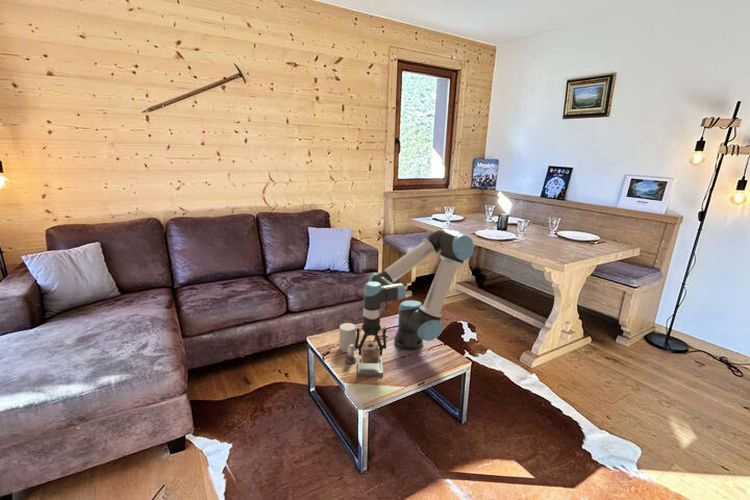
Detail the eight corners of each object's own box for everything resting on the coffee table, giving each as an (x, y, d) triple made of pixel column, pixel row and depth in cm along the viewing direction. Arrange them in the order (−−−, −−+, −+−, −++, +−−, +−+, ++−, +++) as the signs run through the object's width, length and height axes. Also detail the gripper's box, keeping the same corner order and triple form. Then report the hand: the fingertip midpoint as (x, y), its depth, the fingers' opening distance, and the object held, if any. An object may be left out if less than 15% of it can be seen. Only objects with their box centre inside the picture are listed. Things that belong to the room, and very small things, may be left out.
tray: (381, 362, 182) (381, 358, 181) (382, 376, 171) (383, 372, 170) (358, 361, 181) (358, 358, 181) (357, 375, 170) (357, 372, 170)
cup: (353, 353, 189) (353, 331, 185) (337, 351, 190) (337, 329, 187) (357, 344, 196) (357, 324, 193) (342, 342, 198) (342, 322, 194)
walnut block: (377, 355, 178) (377, 341, 176) (377, 363, 171) (378, 349, 169) (362, 354, 178) (363, 341, 176) (362, 363, 171) (362, 349, 169)
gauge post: (356, 358, 184) (356, 342, 182) (355, 364, 179) (356, 348, 177) (345, 358, 184) (345, 342, 182) (345, 363, 179) (345, 348, 177)
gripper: (393, 312, 172) (390, 357, 179) (349, 311, 172) (348, 356, 178) (394, 320, 165) (392, 366, 172) (349, 319, 165) (348, 365, 171)
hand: (370, 361), depth 175 cm, fingers closed on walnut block, 7 cm apart
